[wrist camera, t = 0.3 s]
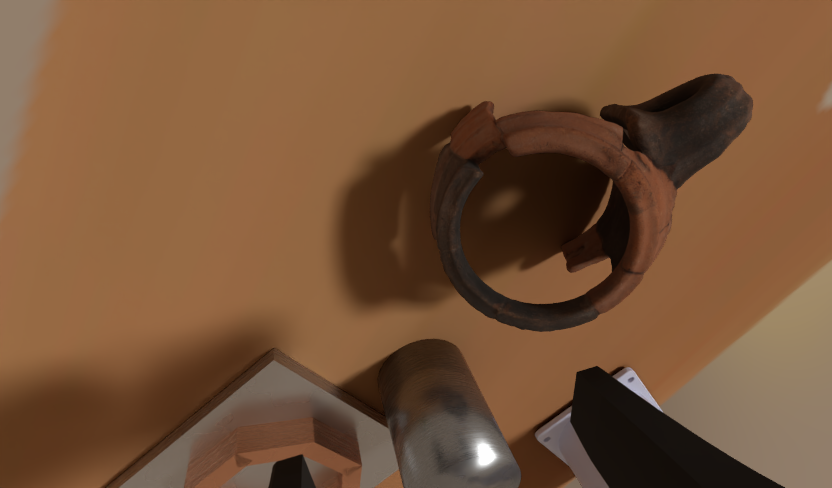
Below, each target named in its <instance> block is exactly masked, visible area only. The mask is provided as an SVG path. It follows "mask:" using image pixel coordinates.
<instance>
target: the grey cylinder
mask: <svg viewBox="0 0 832 488" xmlns="http://www.w3.org/2000/svg"><path fill="white" fill-rule="evenodd" d="M378 387H379V391H380V395H381V399H382V403H383V407H384V411H385V415H386V419H387V423H388V427H389V431H390V435H391V439H392V443H393V447H394V451H395V455H396V459H397V463H398V467H399V471H400V475H401V479H402V483H403V487H404V488H518V486H519V484H520V481H521V471H520V468H519V466H518V464H517V462H516V460H515V458H514V456H513V454H512V452H511V450H510V448H509V446H508V444H507V442H506V441H505V439H504V437H503V435H502V433H501V431H500V429H499V427H498V425H497V423H496V421H495V419H494V417H493V415H492V413H491V411H490V409H489V407H488V405H487V403H486V401H485V399H484V397H483V395H482V393H481V391H480V389H479V387H478V385H477V383H476V381H475V379H474V377H473V375H472V373H471V371H470V369H469V367H468V365H467V363H466V361H465V359H464V357H463V355H462V353H461V351H460V350H459V349H458V348H457V347H456V346H455V345H454V344H452V343H450V342H448V341H445V340H440V339H425V340H420V341H416V342H413V343H410V344H408V345H406V346H404V347H402V348H400V349H399V350H397V351H396V352H394V353H393V354H392V355H391V356H390V357H389V358H388V359H387V360H386V361H385V363H384V364H383V366H382V368H381V369H380V372H379V375H378Z"/></svg>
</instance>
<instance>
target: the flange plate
mask: <svg viewBox="0 0 832 488" xmlns="http://www.w3.org/2000/svg"><path fill="white" fill-rule="evenodd" d="M300 454H303V456H304V459H305V461H306V464H307V466H308V469H309V471H310V474H311V476H312V479H313V481H314V484H315V486H316V488H374V487H375V486H377V485H378V484H379V483H381V482H382V481H383V480H385V479H386V478H387V477H389V476H390V475H391V474H393V473H394V472H395V471H397V470H398V469H399V467H398V463H397V459H396V455H395V451H394V447H393V443H392V439H391V435H390V431H389V427H388V423H387V419H386V417H385V416H383V415H381V414H380V413H378V412H377V411H375V410H373V409H372V408H370V407H368V406H367V405H365V404H364V403H362V402H360V401H359V400H357V399H355V398H354V397H352V396H351V395H349V394H347V393H346V392H344V391H343V390H341V389H339V388H338V387H336V386H334V385H333V384H331V383H330V382H328V381H326V380H325V379H323V378H321V377H320V376H318V375H317V374H315V373H313V372H312V371H310V370H309V369H307V368H305V367H304V366H302V365H300V364H299V363H297V362H296V361H294V360H292V359H291V358H289V357H287V356H286V355H284V354H283V353H281V352H279V351H278V350H276V349H272V350H271V351H270V352H269V353H267V354H266V355H265V356H264V357H263V358H261V359H260V360H259V361H258V362H257V363H255V364H254V365H253V366H252V367H251V368H249V369H248V370H247V371H246V372H245V373H243V374H242V375H241V376H240V377H239V378H237V379H236V380H235V381H234V382H232V383H231V384H230V385H229V386H228V387H226V388H225V389H224V390H223V391H222V392H220V393H219V394H218V395H217V396H216V397H214V398H213V399H212V400H211V401H210V402H208V403H207V404H206V405H205V406H204V407H202V408H201V409H200V410H199V411H197V412H196V413H195V414H194V415H193V416H191V417H190V418H189V419H188V420H187V421H185V422H184V423H183V424H182V425H181V426H179V427H178V428H177V429H176V430H175V431H173V432H172V433H171V434H170V435H169V436H167V437H166V438H165V439H164V440H162V441H161V442H160V443H159V444H158V445H156V446H155V447H154V448H153V449H152V450H150V451H149V452H148V453H147V454H146V455H144V456H143V457H142V458H141V459H140V460H138V461H137V462H136V463H135V464H134V465H132V466H131V467H130V468H129V469H127V470H126V471H125V472H124V473H123V474H121V475H120V476H119V477H118V478H117V479H115V480H114V481H113V482H112V483H111V484H109V485H108V486H107V487H106V488H268V487H269V482H270V478H271V473H272V467H273V465H274V464H275V463H276V462H277V461H280V460H283V459H287V458H290V457H294V456H297V455H300Z"/></svg>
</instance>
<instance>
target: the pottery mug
mask: <svg viewBox="0 0 832 488" xmlns="http://www.w3.org/2000/svg"><path fill="white" fill-rule="evenodd" d="M752 108H753V100H752V98H751V97H750V95H748V94H747V93H746V92H745V91H744V90H743V87H742V85H741V84H740V83H738V82H736V80H735V79H734V78H733V77H731V76H729V75H722V74H709V75H704V76H700V77H698V78H695V79H693V80H690V81H688V82H686V83H684V84H682V85H680V86H677V87H675V88H673V89H671V90H669V91H667V92H665V93H663V94H661V95H659V96H657V97H655V98H653V99H651V100H649V101H646V102H644V103H641V104H638V105H631V106H622V105H617V104H612V105H608V106H605V107H603V108H602V110H601V112H600V116H601V117H602V118H603V119H604V120H602V119H598V118H593V117H588V116H586V115H582V114H578V113H570V112H548V111H528V112H521V113H516V114H511V115H508V116H504V117H501V118H499V119H498V120H495V118H494V116H493V109H494V104H493V103H492V102H490V101H489V102H487V101H485V102H482V103H481V104H479V105H478V106H476V107H475V108H474V109H473V110H471V111H470V112H469V113H468V114H467V115H466V116H465V117H463V118H462V119H461V120H460V122H459V123H458V124H457V126H456V128H455V129H454V130H453V131H452V132H451V141H450V143H448V144H446V145H445V146H444V147H443V149H442V150H441V152H440V154H439V158H438V162H437V166H436V169H435V173H434V179H433V184H432V191H431V198H430V219H431V228H432V234H433V237H434V239H435V240H437V246H438V249H439V253H440V258H441V261H442V264H443V267H444V271H445V273H446V274H447V275H448V277H449V279H450V281H451V282H452V284H453V285H454V287H455V289H456V290H457V292H458V293H459V294H460V295H461V296H462V297H463V298H464V299H465V300H466V301H467V302H468V303H469V304H470V305H472V306H473V307H474V308H475V309H477V310H478V311H480V312H481V313H483V314H484V315H485V316H487V317H489V318H492V319H496V320H497V321H499V322H501V323H504V324H507V325H510V326H515V327H517V328H519V329H522V330H524V329H527V330H532V331H540V332H543V331H554V330H561V329H567V328H571V327H575V326H578V325H581V324H584V323H586V322H590V321H592V320H594V319H596V318H597V316H598V315H599V314H602V313H605V312H607V311H609V310H610V309H612V308H614V307H615V306H616V305H618V304H619V303H620V302H622V301H623V300H624V299H625V298H626V297H627V296H628V295H630V293H631V292H632V291H633V290H634V289H635V288H636V286H637V285H638V284H639V283H640V282H641V280H642V278H643V275H644V273H645V272H646V271H647V270H648V269H649V267H650V266H651V265H652V263H653V262H654V260H655V259H656V257H657V256H658V254H659V253H660V251H661V249H662V247H663V246H664V243H665V241H666V239H667V235H668V233H669V232H670V229H671V224H672V211H673V208H674V205H675V198H676V195H677V189H678V188H679V187H681V186H682V185H683V184H684V182H685V181H686V180H688V179H689V178H690V177H691V176H692V175H694V174H695V173H696V172H697V171H699V170H700V169H702V168H703V167H705V166H706V165H707V164H709V163H710V162H712V161H713V160H715V159H716V158H718V157H719V156H720V155H721V154H722V153H723V152H724V151H725V149H726V148H727V147H728V146H729V145H730V144H731V143H732V142H733V140H734V139H736V138H737V137H738V136H739V135H740V134H741V132H742V131H743V130H744V129H745V127H746V125H747V123H748V122H749V121H750V120H751V118H752ZM623 144H624V145H625V146H626V147H627V148H626V147H624V145H623ZM506 148H507V149H508V151H509V153H510V154H511V155H512V156H513V157H518V156H523V155H528V154H536V153H561V154H565V155H569V156H573V157H575V158H579V159H581V160H584V161H586V162H588V163H590V164H592V165H594V166H595V167H597V168H598V169H600V170H601V171H602V172H603V173H604V174H605V175H607V176H608V177H609V178H611V179H612V180H613V186H612V191H611V195H610V198H609V201H608V205H607V207H606V209H605V211H604V213H603V215H602V216H601V217H600V219H599V220H598V221H597V223H596V224H594V225H593V226H592V227H591V228H590V229H588V230H587V231H586V232H584V233H583V234H581V235H580V236H579V237H577V238H575V239H573V240H572V241H570V242H567V243H565V244H564V245H563V246H562V247H561V249H562V251H563V254H564V257H565V259H566V261H567V263H566V266H567V270H568V271H569V272H571V273H572V272H576V271H579V270H581V269H583V268H585V267H587V266H589V265H591V264H595V263H598V262H600V261H603V260H605V259H607V258H610V259H611V264H612V273H611V274H610V275H609V276H608V277H607V278H606V279H605V280H604V281H603V282H601V283H600V284H599V285H597V286H596V287H594V288H592V289H591V290H589V291H588V292H587V293H586V294H584V295H582V296H580V297H577V298H575V299H572V300H568V301H565V302H560V303H553V304H531V303H524V302H519V301H516V300H512V299H509V298H507V297H505V296H503V295H501V294H499V293H497V292H495V291H494V290H493V289H492V288H490V287H489V286H488V285H486V284H485V283H484V282H483V281H482V280H481V279H480V278H479V277H478V276H477V275H476V274H475V272H474V271H473V270H472V268H471V267H470V265H469V264H468V261H467V259H466V258H465V255H464V252H463V249H462V246H461V240H460V220H461V214H462V210H463V207H464V204H465V202H466V200H467V198H468V196H469V194H470V192H471V191H472V189H473V188H474V187H475V185H476V184H477V182H478V181H479V180H480V179H481V178H482V176H483V172H482V171H481V170H480V168H479V164H480V163H482V162H483V161H484V160H486V159H487V158H489V157H490V156H491V155H492V154H494V153H496V152H497V151H500V150H503V149H506Z"/></svg>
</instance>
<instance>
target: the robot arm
mask: <svg viewBox="0 0 832 488" xmlns="http://www.w3.org/2000/svg"><path fill="white" fill-rule="evenodd" d="M535 437H536V438H537V440H538V441H539V442H540V443H541V444H543V445H544V446H545V447H546V448H547V449H549V450H550V451H551V452H552V453H554V454H555V455H556V456H557V457H558V458H560V459H561V460H562V461H563V462H565V463H566V464H567V465H568V466H569V467H570V468H571V470H572V471H573V473H574V475H575V476H576V478H577V479H578V481H579V483H580V485H581V486H582V488H785V487H783V486H781V485H779V484H777V483H776V482H774V481H772V480H770V479H768V478H766V477H765V476H763V475H761V474H759V473H758V472H756V471H754V470H752V469H751V468H749V467H747V466H746V465H744V464H742V463H740V462H739V461H737V460H736V459H734V458H732V457H731V456H729V455H727V454H726V453H724V452H722V451H721V450H719V449H718V448H716V447H714V446H713V445H711V444H710V443H708V442H706V441H705V440H703V439H702V438H700V437H698V436H697V435H696V434H694V433H692V432H691V431H690V430H688V429H687V428H685V427H684V426H682V425H681V424H679V423H678V422H676V421H675V420H673V419H672V418H670V417H669V416H667V415H666V414H664V413H663V412H662V410H661V409H660V407H659V406H658V404H657V403H656V402H655V400H654V399H653V397H652V396H651V394H650V393H649V392H648V390H647V389H646V387H645V386H644V385H643V383H642V382H641V380H640V379H639V377H638V376H637V375H636V373H635V372H634V371H633V370H632V369H631V368H630V367H626V368H624V369H622V370H621V371H619V372H618V373H617V374H615V375H614V376H611V375H609V374H608V373H607V372H605V371H604V370H602V369H601V368H600V367H598V366H596V367H592V368H589V369H586V370H582V371H579V372H577V374H576V381H575V389H574V396H573V403H572V406H571V407H569V408H568V409H566V410H565V411H564V412H562V413H561V414H559V415H558V416H557V417H555V418H554V419H552V420H551V421H550V422H548V423H547V424H545V425H544V426H543V427H541V428H540V429H538V430H537V431H536V433H535ZM268 488H316V486H315V484H314V481H313V479H312V476H311V474H310V471H309V469H308V466H307V464H306V461H305V459H304V456H303V454H300V455H297V456H294V457H290V458H287V459H283V460H280V461H277V462H276V463H275V464H274V465H273V467H272V473H271V478H270V482H269V487H268Z"/></svg>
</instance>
